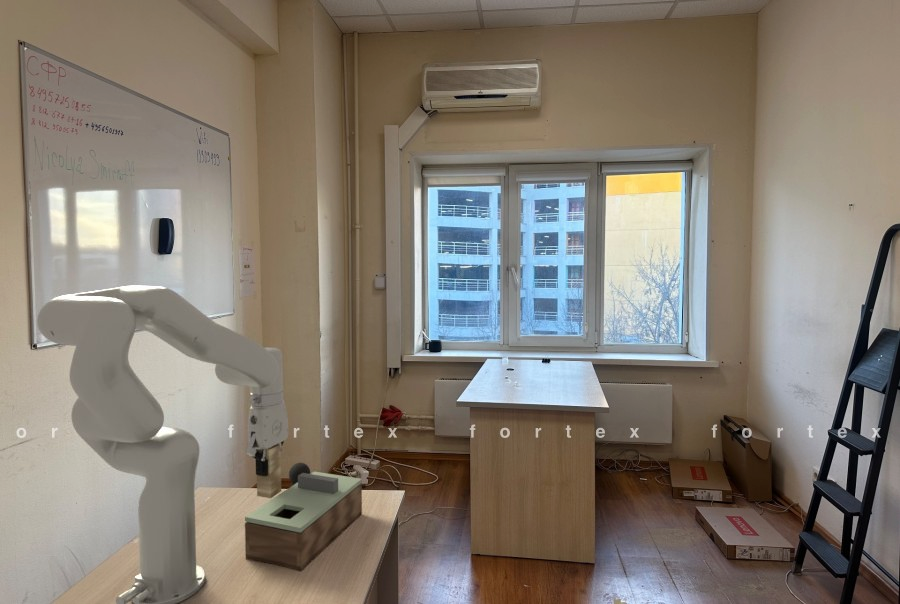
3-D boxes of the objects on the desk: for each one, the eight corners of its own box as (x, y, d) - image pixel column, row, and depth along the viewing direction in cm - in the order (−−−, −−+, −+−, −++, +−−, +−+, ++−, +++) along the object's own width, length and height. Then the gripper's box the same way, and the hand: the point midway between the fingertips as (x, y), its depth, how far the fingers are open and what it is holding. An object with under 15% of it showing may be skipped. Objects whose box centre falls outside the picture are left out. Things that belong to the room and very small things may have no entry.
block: (270, 498, 121) (269, 449, 120) (257, 495, 122) (255, 448, 122) (281, 491, 125) (280, 444, 124) (268, 489, 126) (266, 442, 125)
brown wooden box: (301, 571, 103) (300, 534, 103) (245, 558, 108) (245, 522, 107) (361, 514, 128) (361, 483, 127) (314, 505, 132) (314, 476, 132)
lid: (300, 532, 103) (300, 513, 103) (244, 521, 107) (244, 503, 107) (361, 482, 127) (361, 467, 127) (314, 475, 132) (314, 460, 132)
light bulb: (298, 505, 132) (298, 468, 132) (284, 500, 135) (284, 464, 135) (314, 497, 137) (314, 462, 136) (300, 492, 140) (300, 457, 139)
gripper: (256, 409, 113) (258, 488, 114) (300, 391, 129) (301, 461, 130) (229, 406, 115) (231, 483, 117) (276, 389, 131) (277, 457, 132)
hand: (268, 470), depth 123 cm, fingers closed on block, 4 cm apart
